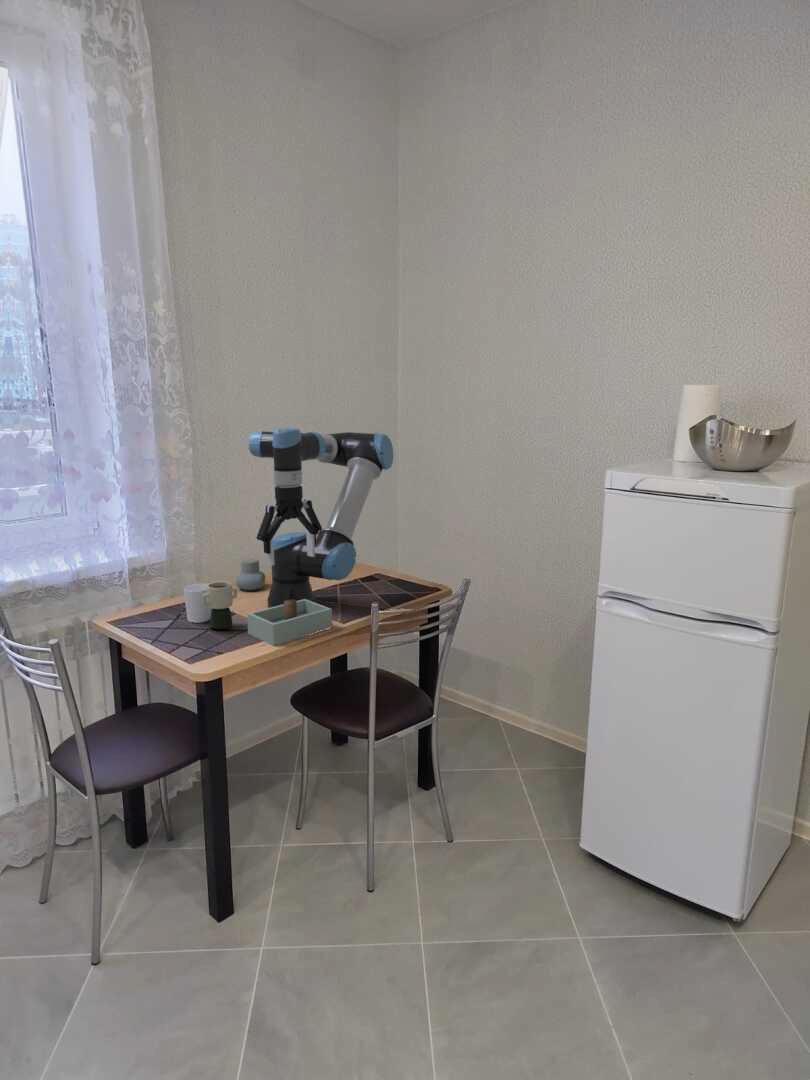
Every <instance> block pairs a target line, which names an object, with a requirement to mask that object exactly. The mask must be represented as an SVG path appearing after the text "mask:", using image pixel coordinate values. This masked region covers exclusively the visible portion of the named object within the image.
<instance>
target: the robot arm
mask: <svg viewBox="0 0 810 1080" xmlns="http://www.w3.org/2000/svg"><path fill="white" fill-rule="evenodd" d="M248 450H249V453H250V454H251V455H252V456H253V457H256V458H257V457H258V458H261V459H262V458H263V459H264V458H266V459H267V458H268V459H273V478H274V479H273V483H274V485H275V486H274V500H275V505H270V504H267V505H265V513H264V517H263V519H262V522H261V524H260V526H259V530H258V533H257V535H256V540H258V541H261V542H263V552H264V554H266V565H269V566H271V578H272V580H271V586H270V588H269V593H268V597H267V599H266V601H267V602H266V603H267V608H271V607H275V606H279V605H283V604H284V601H285V600H290V599H293V600H296V601H299V600H303V599H307V600H309V601H312V602H315V603H316V596H315V594H314V591H313V587H312V585H311V582H310V577H311V578H316V579H323V580H328V581H333V580H335V581H342V580H344V579H346V578H347V577H348V576H350V574H351V573H352V572H353V569H354V567H355V565H356V557H357V550H356V547H355V546H354V545H355V543H354V541H353V539H352V537H353V535H354V532H355V530H356V527H357V525H358V522H359V519H360V516H361V514H362V512H363V510H364V509H363V508H364V505H365V504H366V501H367V498H368V495H369V493H370V490H371V487H372V485H373V483H374V480H377V479H378V478H380V476H381V475H382V472H383V470H385V471H387V470H390V469H391V468H392V466H393V462H394V447H393V443H392V441H391V438H390V437H389V436H388V434H384V433H378V432H375V433H367V432H366V433H365V432H350V431H349V432H348V431H347V432H337V433H321V434H320V432H319V433H318V432H316V431H315V432H313V431H312V432H311V431H309V432H305V433H304V432H301V430H300V429H299V428H295V427H294V428H293V427H284V428H283V427H282V428H276V429H274V430H273V431H264V430H262V431H254V432H252V433H251V435H250V436H249V438H248ZM310 460H311V461H312V460H317V461H318V462H320V463H325V464H326V463H327V464H330V465H336V466H341V467H347V468H348V473H347V475H346V478H345V479H344V482H343V485H342V488H341V489H340V492H339V494H338V497H337V500H336V501H335V504H334V506H333V508H332V511H331V514H330V516H329V519H328V522H327V524H326V527H325V528H323V527H322V525H321V523H320V521H319V519H318V517H317V514H316V513H315V510H314V507H313V502H312V500H309V499H303V498H304V495H303V486H302V484H303V476H302V475H303V472H302V471H303V469H302V467H303V466H302V465H303V464H302V462H305V461H310ZM302 499H303V501H302ZM302 509H304V511H305V513H306V515H307V517H308V518H307V517H306V515H305V513H304V512H303V511H302ZM291 519H297V520H298V521H299V522H300V523H301V524H302V526H303V527H304V528H305V529H306V530H307V531H308V532H305V531H300V532H289V533H283V534H278V535H277V536H276V533H277V531H278V530H279V528H280V527H281V526H282V524H283V523H284V522H285V520H287V521H290V520H291ZM308 519H309V520H308Z"/></svg>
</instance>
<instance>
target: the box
mask: <svg viewBox="0 0 810 1080" xmlns="http://www.w3.org/2000/svg"><path fill="white" fill-rule="evenodd" d="M296 603H297V617H295V618H292V619H288V620H285V617H284V604H283V605H279V606H275V607H271V608H268V607H267V608H263V609H259V610H256V611H252V612H247V613H246V616H247V619H246V620H247V634H248V635H250V636H252V637H254V638H256V639H259V640H260V641H262V642H265V643H266V644H268V645H270V646H272V647H274V646H275V645H276V646H279V645H282V644H286V643H288V642H292V641H295V639H296V640H299V639H302V638H304V637H303V636H306V635H309V634H312V633H315V632H317V631H320V630H324V629H326V628H329V627H332V628H333V610H332V608H330V607H327V606H325V605H322V604H319V603H317V602H316V601H315V602H312V601H309V600H307V599H303V600H299V601H296ZM309 636H310V635H309ZM301 637H302V638H301ZM306 637H307V636H306ZM298 638H299V639H298Z"/></svg>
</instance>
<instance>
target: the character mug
mask: <svg viewBox="0 0 810 1080" xmlns="http://www.w3.org/2000/svg"><path fill="white" fill-rule="evenodd" d="M207 584H208V585H207V593H206V594H203V595H202V603H203V605H207V604H208V606H209V607H210V608H211V619H210V620H209V621H210V622H209V623H210V626H209V627H210V628H212V629H216V630H227V629H229V628H231V627H233V618H232V613H231V609H230V608H231V607H233V602H234V601H233V600H234V599H237V598H238V589H237V587H234V586H233V583H231V582H230V581H214V582H210V583H207ZM205 597H207V601H206V598H205Z"/></svg>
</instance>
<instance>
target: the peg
mask: <svg viewBox="0 0 810 1080" xmlns="http://www.w3.org/2000/svg"><path fill="white" fill-rule="evenodd" d="M284 617H285V620H288V619H292V618H295V617H297V603H296V600H293V599H290V600H285V601H284Z"/></svg>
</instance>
